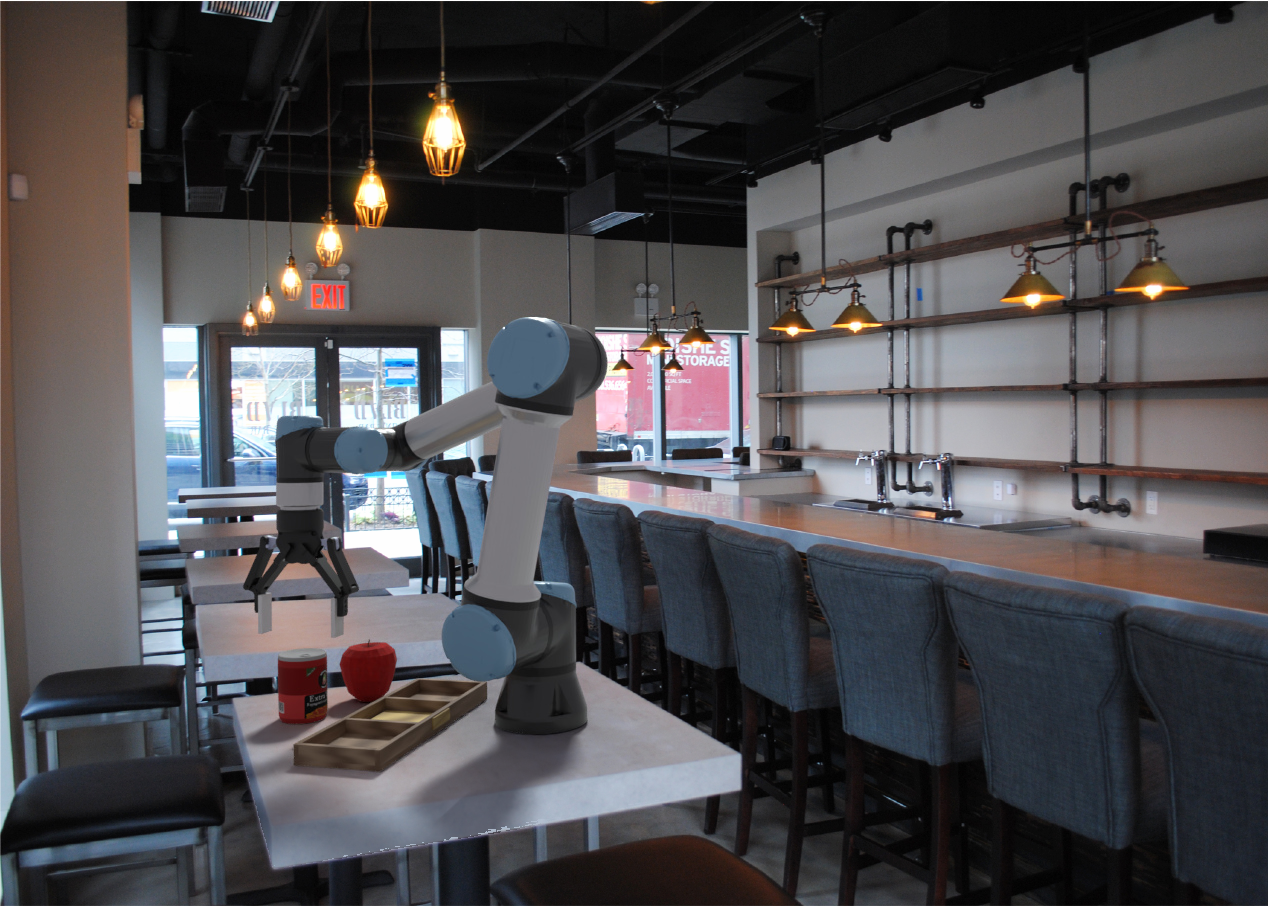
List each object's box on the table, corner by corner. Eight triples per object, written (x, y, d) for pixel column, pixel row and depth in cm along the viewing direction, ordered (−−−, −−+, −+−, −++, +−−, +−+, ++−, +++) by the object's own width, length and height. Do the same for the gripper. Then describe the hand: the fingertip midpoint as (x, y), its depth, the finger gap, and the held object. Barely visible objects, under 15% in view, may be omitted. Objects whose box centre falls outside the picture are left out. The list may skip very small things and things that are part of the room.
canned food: (313, 726, 156) (312, 658, 156) (268, 723, 158) (267, 657, 158) (336, 712, 164) (335, 648, 164) (294, 710, 165) (293, 647, 165)
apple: (388, 689, 179) (388, 631, 179) (404, 701, 171) (403, 640, 171) (334, 697, 174) (334, 637, 174) (348, 709, 166) (347, 646, 166)
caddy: (488, 698, 172) (488, 681, 172) (382, 771, 134) (381, 750, 134) (417, 694, 175) (417, 678, 175) (293, 765, 137) (293, 744, 137)
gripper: (379, 507, 161) (379, 633, 162) (248, 505, 167) (249, 626, 167) (356, 510, 154) (356, 642, 154) (220, 508, 160) (221, 635, 160)
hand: (300, 634), depth 161 cm, fingers open, 13 cm apart
